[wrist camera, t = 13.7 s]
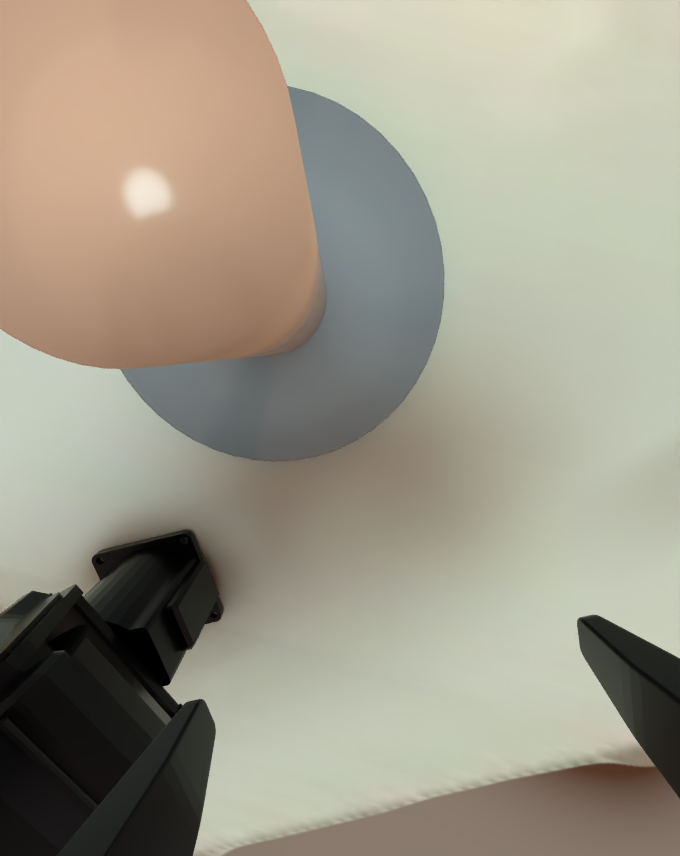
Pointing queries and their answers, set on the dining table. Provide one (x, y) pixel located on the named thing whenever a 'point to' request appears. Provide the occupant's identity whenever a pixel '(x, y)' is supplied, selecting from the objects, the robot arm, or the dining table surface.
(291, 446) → the plate
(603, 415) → the dining table surface
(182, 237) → the peach cylinder
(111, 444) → the dining table surface
